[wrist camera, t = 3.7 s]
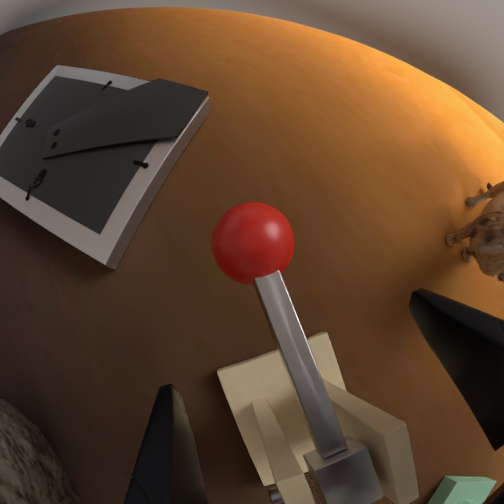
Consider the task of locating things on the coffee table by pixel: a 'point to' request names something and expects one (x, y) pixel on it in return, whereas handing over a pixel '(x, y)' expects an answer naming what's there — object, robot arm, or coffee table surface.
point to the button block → (462, 490)
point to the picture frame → (96, 154)
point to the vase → (29, 463)
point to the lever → (294, 348)
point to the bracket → (297, 434)
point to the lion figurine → (485, 233)
